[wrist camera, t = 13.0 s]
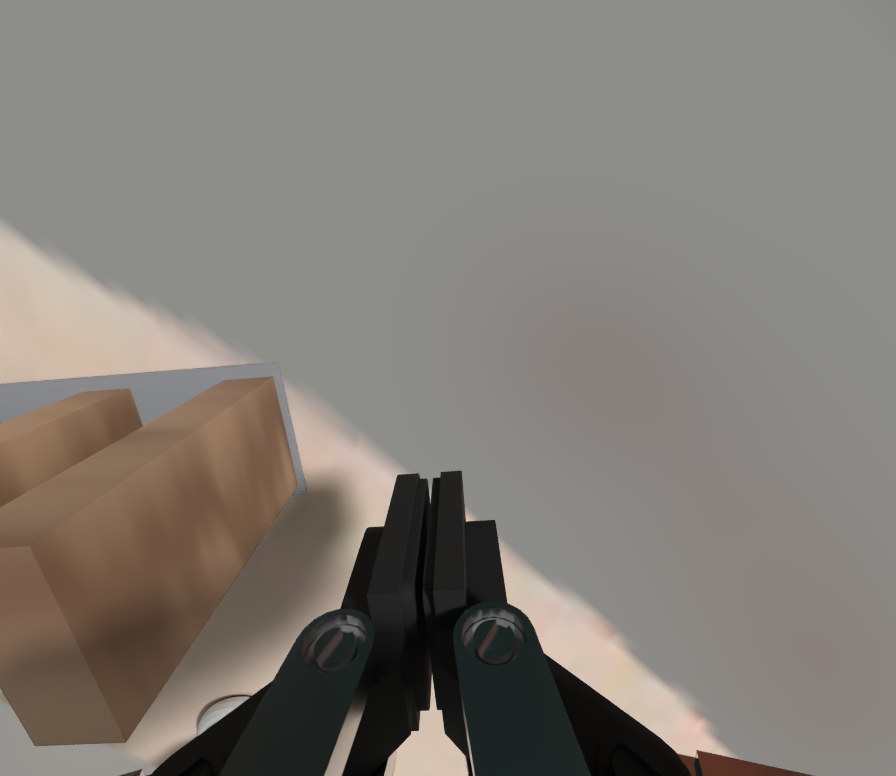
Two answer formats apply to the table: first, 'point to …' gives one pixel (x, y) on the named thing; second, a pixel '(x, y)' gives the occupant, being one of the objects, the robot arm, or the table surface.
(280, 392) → the grey flat board
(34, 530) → the domino
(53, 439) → the domino
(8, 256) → the table surface
